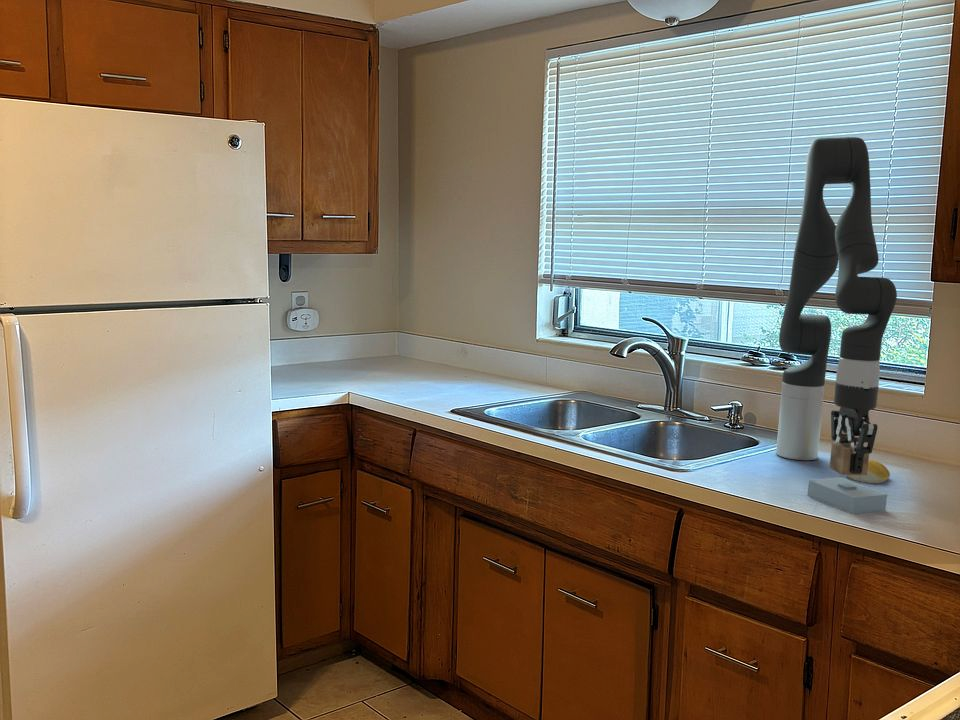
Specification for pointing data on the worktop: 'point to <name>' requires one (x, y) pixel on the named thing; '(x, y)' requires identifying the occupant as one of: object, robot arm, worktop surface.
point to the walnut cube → (845, 459)
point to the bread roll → (873, 473)
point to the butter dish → (847, 495)
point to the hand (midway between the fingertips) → (848, 468)
